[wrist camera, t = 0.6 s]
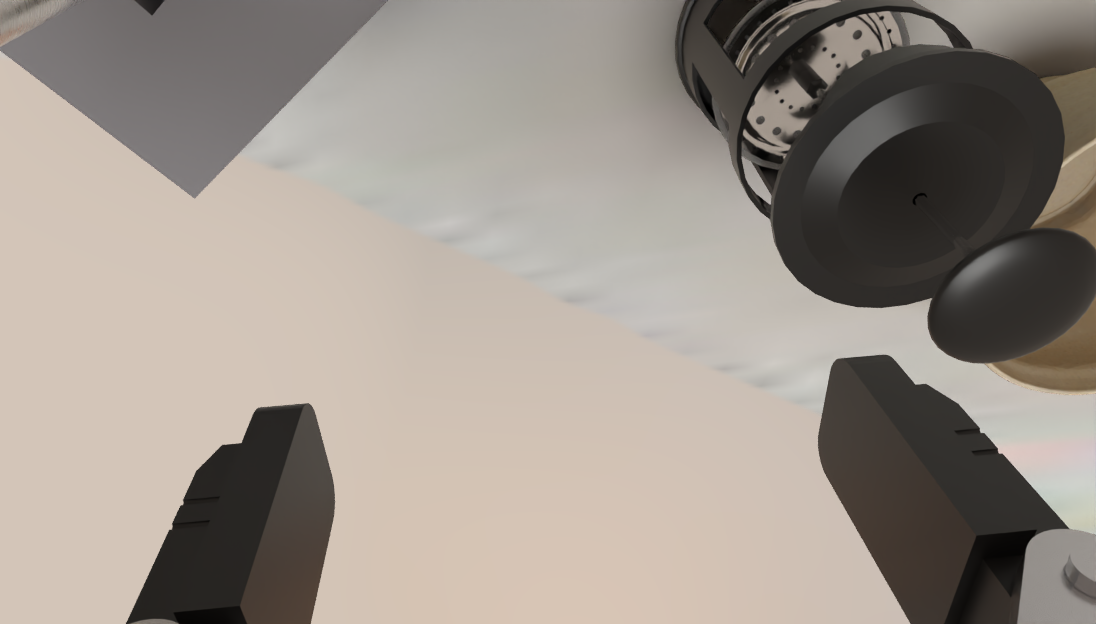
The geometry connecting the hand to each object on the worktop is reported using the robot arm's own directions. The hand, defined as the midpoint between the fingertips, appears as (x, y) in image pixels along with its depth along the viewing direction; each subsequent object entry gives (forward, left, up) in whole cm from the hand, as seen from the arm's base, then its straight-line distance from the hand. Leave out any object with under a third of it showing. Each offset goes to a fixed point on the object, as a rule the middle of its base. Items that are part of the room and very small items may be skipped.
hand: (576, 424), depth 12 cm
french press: (-7, +10, -30) cm, 32 cm away
